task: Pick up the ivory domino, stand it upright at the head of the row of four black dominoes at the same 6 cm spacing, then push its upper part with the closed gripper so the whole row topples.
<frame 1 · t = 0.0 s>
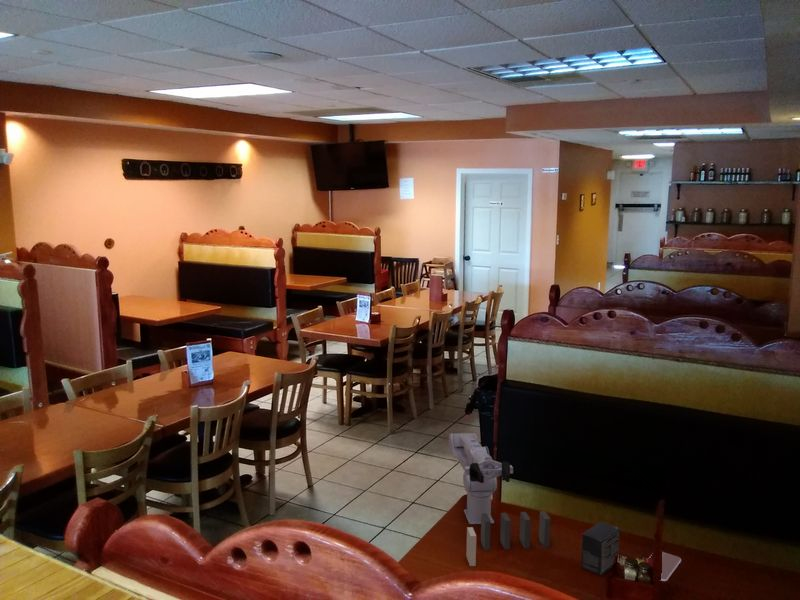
hand: (495, 479, 190), 22 cm above the table, tool horizontal, fingers open, 7 cm apart
small box: (599, 565, 185), on the table
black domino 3: (504, 545, 196), on the table
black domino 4: (524, 544, 196), on the table
black domino 2: (485, 545, 195), on the table
ivory domino: (470, 561, 187), on the table
mobile phone: (660, 567, 185), on the table
black domino 5: (543, 543, 197), on the table
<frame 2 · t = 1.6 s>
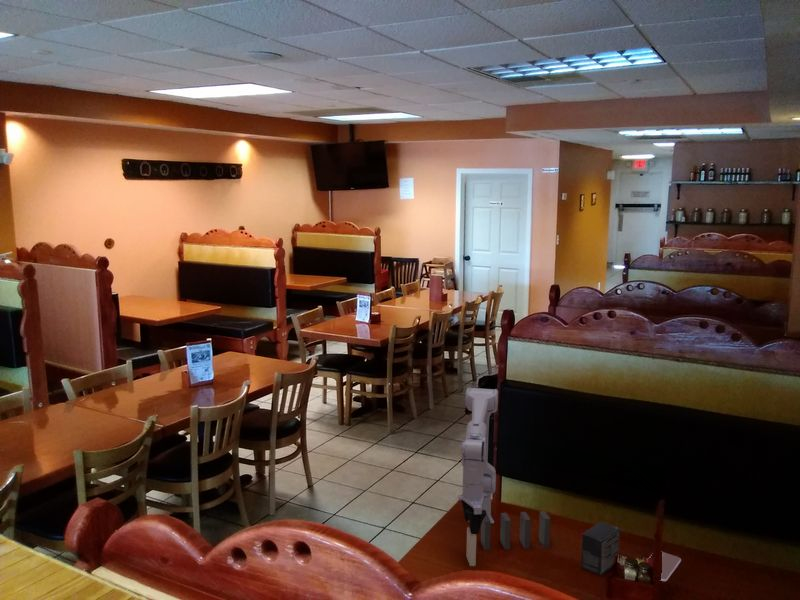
hand: (471, 526, 185), 10 cm above the table, tool pointing down, fingers open, 7 cm apart
nothing on the table moved.
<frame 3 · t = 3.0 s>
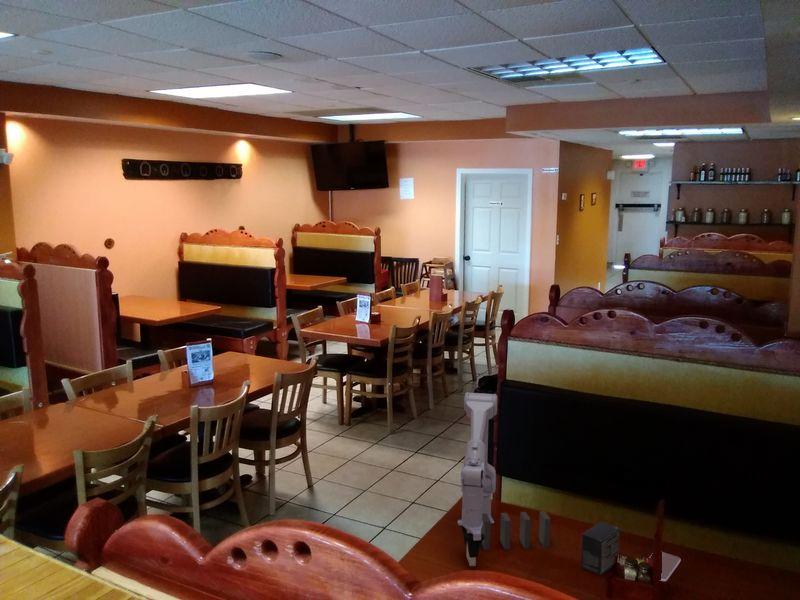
hand: (471, 551, 186), 3 cm above the table, tool pointing down, fingers closed on ivory domino, 5 cm apart
ivory domino: (470, 561, 187), on the table, touching gripper
everything else where it was.
when the fingers open (3 cm above the table, at t = 6.9 s): ivory domino stays where it is, on the table.
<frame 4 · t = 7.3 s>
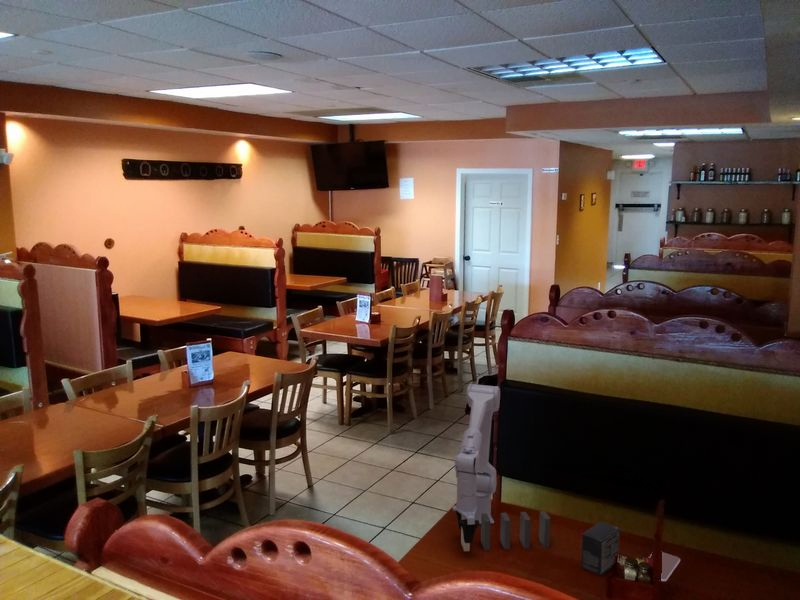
hand: (465, 535, 194), 3 cm above the table, tool pointing down, fingers open, 7 cm apart
ivory domino: (465, 546, 194), on the table
everything else where it was.
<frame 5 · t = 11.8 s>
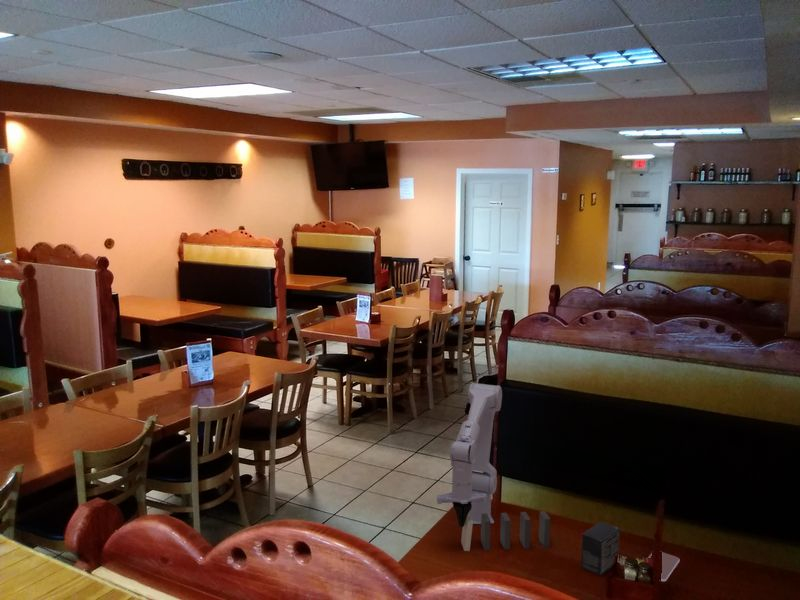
hand: (461, 525, 193), 7 cm above the table, tool pointing down, fingers closed
nothing on the table moved.
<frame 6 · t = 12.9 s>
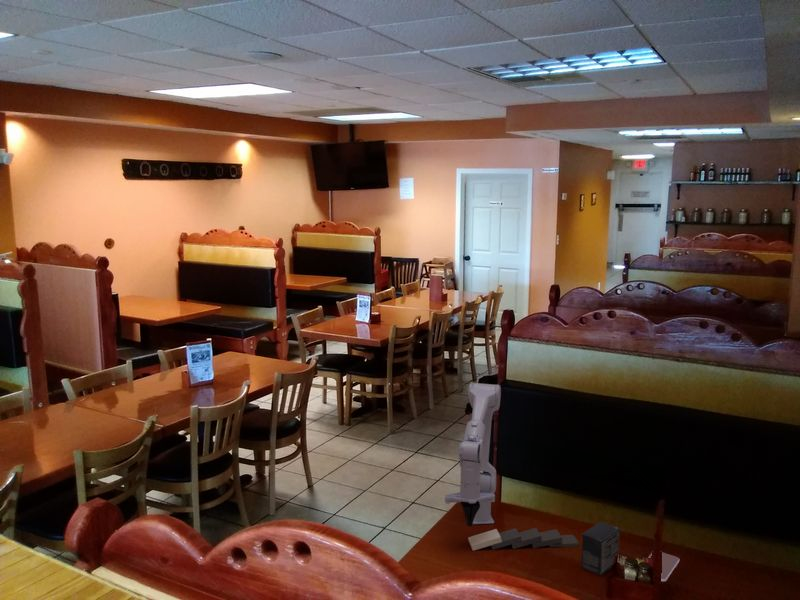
hand: (469, 524, 194), 7 cm above the table, tool pointing down, fingers closed
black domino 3: (510, 542, 196), point 1 cm above the table, tilted 75°, touching black domino 2
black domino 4: (530, 541, 196), point 1 cm above the table, tilted 80°
black domino 2: (490, 543, 195), point 1 cm above the table, tilted 75°, touching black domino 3, ivory domino
ivory domino: (470, 544, 194), point 1 cm above the table, tilted 75°, touching black domino 2
black domino 5: (547, 542, 197), on the table, tilted 90°
everything else where it was.
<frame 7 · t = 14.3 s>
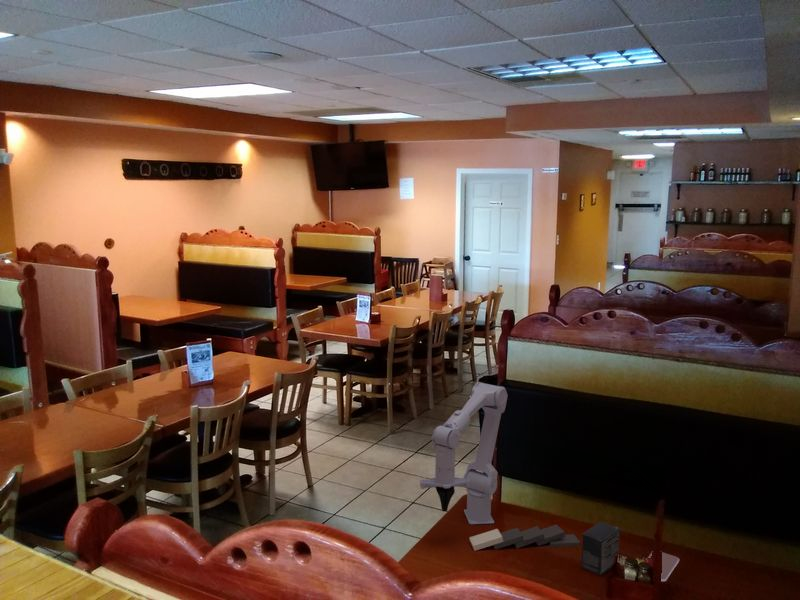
hand: (444, 509, 195), 10 cm above the table, tool pointing down, fingers closed
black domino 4: (534, 539, 197), point 1 cm above the table, tilted 78°
ivory domino: (471, 544, 195), point 1 cm above the table, tilted 75°, touching black domino 2
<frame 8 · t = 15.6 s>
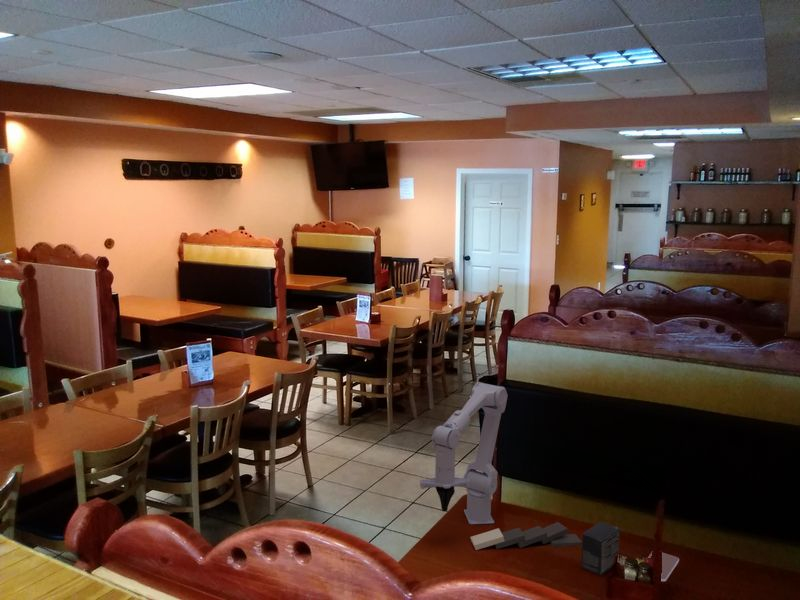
hand: (444, 509, 195), 10 cm above the table, tool pointing down, fingers closed
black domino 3: (516, 541, 196), point 1 cm above the table, tilted 76°, touching black domino 2
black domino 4: (538, 538, 198), point 1 cm above the table, tilted 78°
black domino 2: (493, 542, 196), point 1 cm above the table, tilted 76°, touching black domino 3
ivory domino: (473, 543, 195), point 1 cm above the table, tilted 76°
at the end: black domino 5 tilted 90°; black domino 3 tilted 76°; ivory domino tilted 76° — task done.
